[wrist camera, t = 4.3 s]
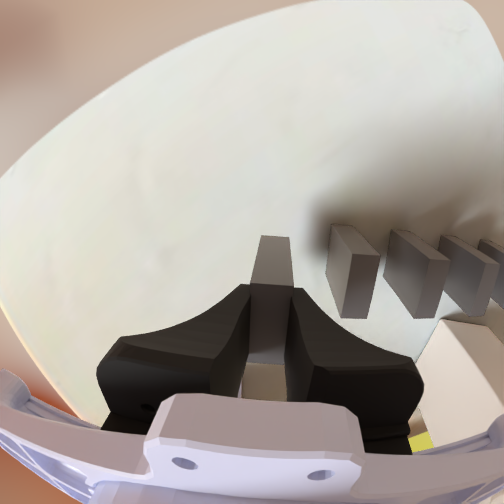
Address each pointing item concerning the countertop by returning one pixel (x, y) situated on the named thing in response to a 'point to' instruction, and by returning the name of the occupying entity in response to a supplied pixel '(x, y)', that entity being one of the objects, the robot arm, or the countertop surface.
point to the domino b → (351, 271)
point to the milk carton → (461, 384)
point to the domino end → (500, 294)
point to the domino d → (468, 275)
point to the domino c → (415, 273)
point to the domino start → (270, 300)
